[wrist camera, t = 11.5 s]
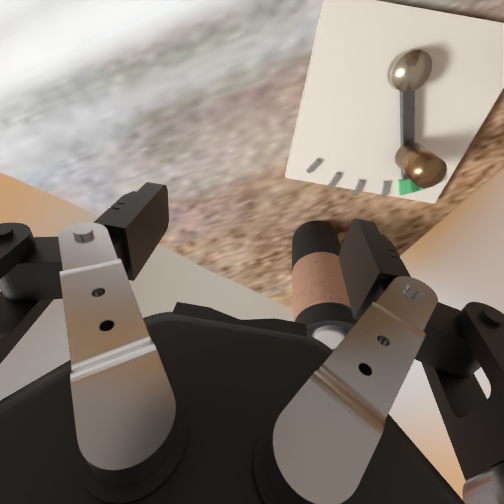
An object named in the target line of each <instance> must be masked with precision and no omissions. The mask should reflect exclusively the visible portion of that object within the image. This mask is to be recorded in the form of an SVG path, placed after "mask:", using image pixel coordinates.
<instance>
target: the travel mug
mask: <svg viewBox="0 0 504 504" xmlns="http://www.w3.org/2000/svg"><path fill="white" fill-rule="evenodd" d="M340 249H341V246H340V243H339V240H338V237H337V234H336V232H335V230H334V229H333V228H332V227H331V226H330V225H329V224H327V223H325V222H321V221H311V222H307V223H305V224H303V225H301V226H300V227H299V228H298V229H297V230H296V231H295V233H294V235H293V242H292V288H293V310H294V322H298V323H304V324H306V328H307V335H310V336H312V337H314V338H316V339H318V340H319V341H321V342H322V343H324V344H325V345H327V346H328V347H329V348H331V349H332V350H333V351H334V350H335V349H336V347H337V346H338V345H339V344H340V342H341V341H342V340H343V339H344V338H345V336H346V335H347V334H348V333H349V331H350V330H351V329H352V328H353V326H354V325H355V324H356V323H357V321H358V320H357V319H354V318H353V314H352V310H351V306H350V302H349V298H348V294H347V290H346V286H345V282H344V279H343V275H342V271H341V267H340V263H339V254H340Z"/></svg>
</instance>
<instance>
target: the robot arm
mask: <svg viewBox="0 0 504 504" xmlns="http://www.w3.org/2000/svg"><path fill="white" fill-rule="evenodd" d="M168 223H169V210H168V190H167V187H166V185H161V184H155V183H150V182H147V183H146V184H145V185H143V186H142V187H141V188H140V189H139V190H138V191H137V192H134V191H133V192H131V193H128V194H126V195H124V196H122V197H121V198H120V199H119V200H118V201H116V203H114V204H113V205H112V206H111V208H109V209H108V210H107V211H105V212H104V213H103V214H102V215H101V216H100V217H99V218H98V219H97V220H96V221H94V222H93V223H91V222H88V223H87V222H86V223H79V224H74V225H71V226H69V227H67V228H65V229H64V230H62V231H61V232H60V234H59V236H58V237H33V235H32V232H31V230H30V228H29V227H28V226H27V225H24V224H21V223H2V224H0V289H1V292H0V363H1V362H2V361H3V360H4V359H5V357H6V356H7V355H8V354H9V353H10V351H11V350H12V349H13V348H14V346H15V345H16V344H17V343H18V342H19V340H20V339H21V338H22V337H23V336H24V334H25V333H26V332H27V331H28V330H29V328H30V327H31V326H32V325H33V324H34V322H35V321H36V320H37V319H38V317H39V316H40V315H41V314H42V313H43V311H44V310H45V309H46V308H47V307H48V305H49V304H50V303H51V302H52V301H53V299H63V304H64V312H65V319H66V327H67V335H68V343H69V350H70V358H71V360H69V361H68V362H66V363H64V364H62V365H61V366H59V367H57V368H56V369H54V370H52V371H50V372H49V373H47V374H45V375H44V376H42V377H40V378H38V379H37V380H35V381H33V382H31V383H30V384H28V385H26V386H25V387H23V388H21V389H20V390H18V391H16V392H14V393H13V394H11V395H9V396H8V397H6V398H4V399H2V400H1V401H0V504H504V314H503V313H501V312H500V311H498V310H496V309H495V308H493V307H490V306H488V305H486V304H483V303H478V302H470V303H468V304H467V305H466V306H465V307H464V308H463V309H462V310H461V311H460V310H458V309H455V308H452V307H449V306H447V305H444V304H442V303H439V302H438V298H437V295H436V293H435V292H434V291H433V290H432V289H431V288H430V287H429V286H428V285H426V284H425V283H423V282H422V281H420V280H418V279H415V278H412V277H411V276H410V275H409V273H408V271H407V269H406V267H405V265H404V264H403V262H402V260H401V259H400V256H399V255H398V253H397V252H396V249H395V247H394V245H393V244H392V242H391V241H390V240H388V239H387V238H386V237H385V236H384V235H381V234H380V233H379V231H378V229H377V227H376V225H375V223H374V222H373V221H368V220H362V219H354V220H353V221H352V223H351V225H350V227H349V230H348V232H347V235H346V237H345V239H344V242H343V244H342V247H341V249H340V254H339V263H340V267H341V271H342V275H343V279H344V282H345V286H346V290H347V294H348V298H349V302H350V306H351V310H352V314H353V318H354V319H357V320H358V321H357V323H356V324H355V325H354V326H353V328H352V329H351V330H350V331H349V333H348V334H347V335H346V336H345V338H344V339H343V340H342V341H341V342H340V344H339V345H338V346H337V347H336V349H335V350H334V351H333V350H332V349H331V348H329V347H328V346H327V345H325V344H324V343H322V342H321V341H319V340H318V339H316V338H314V337H312V336H310V335H307V328H306V324H304V323H298V322H292V321H286V320H280V319H253V320H240V319H237V318H234V317H232V316H229V315H227V314H224V313H222V312H219V311H216V310H214V309H212V308H209V307H203V306H198V305H191V304H186V303H180V302H177V304H176V306H175V308H174V311H173V312H165V313H159V314H155V315H151V316H148V317H145V318H143V317H142V315H141V312H140V309H139V307H138V304H137V301H136V299H135V296H134V293H133V291H132V288H131V285H130V283H129V280H132V281H134V280H135V278H136V277H137V275H138V274H139V272H140V271H141V269H142V268H143V266H144V265H145V263H146V261H147V260H148V258H149V257H150V255H151V254H152V252H153V251H154V249H155V247H156V246H157V245H158V243H159V241H160V240H161V238H162V237H163V235H164V234H165V232H166V230H167V227H168ZM414 359H416V360H418V361H421V362H422V365H423V367H424V370H425V373H426V375H427V378H428V381H429V384H430V386H431V389H432V392H433V394H434V397H435V400H436V402H437V405H438V408H439V411H440V413H441V416H442V419H443V421H444V424H445V426H446V429H447V432H448V435H449V437H450V440H451V443H452V445H453V448H454V451H455V453H456V456H457V459H458V462H459V464H460V467H461V470H462V472H463V475H464V478H465V480H466V482H465V484H464V487H463V500H462V499H461V498H460V497H459V495H458V494H457V493H456V492H455V491H454V490H453V488H452V487H451V486H450V485H449V484H448V483H447V481H446V480H445V479H444V478H443V477H442V476H441V474H439V472H438V471H437V470H436V469H435V467H434V466H433V465H432V464H431V463H430V462H429V460H428V459H427V458H426V457H425V456H424V455H423V453H422V452H421V451H420V450H419V449H418V448H417V447H416V445H415V444H414V443H413V442H412V441H411V440H410V438H409V437H408V436H407V435H406V434H405V433H404V431H403V430H402V429H401V428H400V427H399V426H398V424H397V423H396V422H395V421H394V420H393V419H392V417H391V416H390V415H389V414H388V413H389V411H390V409H391V407H392V405H393V402H394V400H395V398H396V396H397V394H398V392H399V390H400V388H401V386H402V384H403V382H404V380H405V378H406V375H407V373H408V371H409V369H410V367H411V365H412V363H413V361H414ZM480 367H482V369H483V371H484V372H485V374H486V376H487V378H488V380H489V382H490V385H491V394H490V397H489V398H488V399H487V398H486V396H485V394H484V392H483V390H482V389H481V387H480V385H479V383H478V381H477V379H476V377H475V375H474V372H475V371H476V370H478V369H479V368H480Z"/></svg>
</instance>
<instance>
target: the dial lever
mask: <svg viewBox="0 0 504 504" xmlns="http://www.w3.org/2000/svg"><path fill="white" fill-rule="evenodd" d="M431 71H432V59H431V57H430V55H429V54H428V53H427V52H426V51H423V50H406V51H404V52H402V53H400V54H399V55H397V56H396V57H395V58H394V60H393V61H392V62H391V64H390V66H389V69H388V73H387V78H388V82H389V84H390V86H391V87H392V88H394V89H396V90H399V91H400V138H401V147H400V148H399V149H398V151H397V152H396V155H395V163H396V165H397V166H398V167H399V168H400V169H401V177H402V178H403V179H404V180H405V179H409V178H410V179H411V181H412V182H413V183H414V184H415V185H416V186H418V187H420V188H430V187H433V186H435V185H437V184H438V183H439V182H441V181H442V179H443V178H444V177H445V175H446V172H447V165H446V163H445V162H444V161H443V160H442V159H440V158H439V157H438V156H436V155H435V154H433V153H432V152H431V151H429V150H428V149H426V148H425V147H423V146H422V145H421V144H419V143H417V142H414V140H415V90H417V89H418V88H420V87H421V86H422V85H423V84H424V83H425V82H426V81H427V79H428V78H429V76H430V74H431Z"/></svg>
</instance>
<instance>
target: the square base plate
mask: <svg viewBox="0 0 504 504" xmlns="http://www.w3.org/2000/svg"><path fill="white" fill-rule="evenodd" d="M406 50H423V51H426V52H427V53H428V54H429V55H430V57H431V59H432V71H431V74H430V76H429V78H428V79H427V81H426V82H425V83H424V84H423V85H422V86H421V87H420V88H418V89H417V90H415V140H414V142H417V143H419V144H421V145H422V146H423V147H425V148H426V149H428V150H429V151H431V152H432V153H433V154H435V155H436V156H438V157H439V158H440V159H442V160H443V161H444V162H445V163H446V165H447V172H446V175H445V177H444V178H443V179H442V181H441V182H439V183H438V184H437V185H435V186H433V187H430V188H420V187H418V186H416V185H415V184H414V183H413V182H412V181H411V179H410V178H409V179H405V180H404V179H403V178H402V177H401V169H400V168H399V167H398V166H397V165H396V163H395V155H396V152H397V151H398V149H399V148H400V147H401V138H400V91H399V90H396V89H394V88H392V87H391V86H390V84H389V82H388V78H387V73H388V69H389V66H390V64H391V62H392V61H393V60H394V58H395V57H396V56H397V55H399V54H400V53H402V52H404V51H406ZM503 88H504V23H501V22H495V21H490V20H484V19H478V18H473V17H467V16H462V15H456V14H450V13H445V12H439V11H434V10H428V9H422V8H417V7H411V6H406V5H400V4H394V3H389V2H383V1H377V0H323V4H322V9H321V14H320V18H319V23H318V27H317V32H316V36H315V41H314V45H313V50H312V54H311V59H310V63H309V68H308V73H307V77H306V82H305V86H304V91H303V95H302V100H301V104H300V109H299V113H298V118H297V123H296V127H295V132H294V136H293V141H292V145H291V150H290V154H289V159H288V163H287V168H286V172H285V178H290V179H295V180H301V181H307V182H313V183H319V184H324V185H328V186H329V187H331V188H332V187H333V186H336V187H342V188H347V189H353V190H354V195H358V194H359V191H365V192H370V193H376V194H381V195H382V197H386V196H387V195H388V196H394V197H399V198H405V199H411V200H417V201H422V202H428V203H434V204H435V202H436V200H437V199H438V197H439V195H440V194H441V192H442V190H443V189H444V187H445V185H446V184H447V182H448V180H449V179H450V177H451V175H452V174H453V172H454V170H455V169H456V167H457V165H458V164H459V162H460V160H461V159H462V157H463V155H464V154H465V152H466V150H467V149H468V147H469V145H470V143H471V142H472V140H473V138H474V137H475V135H476V133H477V132H478V130H479V128H480V127H481V125H482V123H483V122H484V120H485V118H486V117H487V115H488V113H489V112H490V110H491V108H492V107H493V105H494V103H495V102H496V100H497V98H498V97H499V95H500V93H501V92H502V90H503Z"/></svg>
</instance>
